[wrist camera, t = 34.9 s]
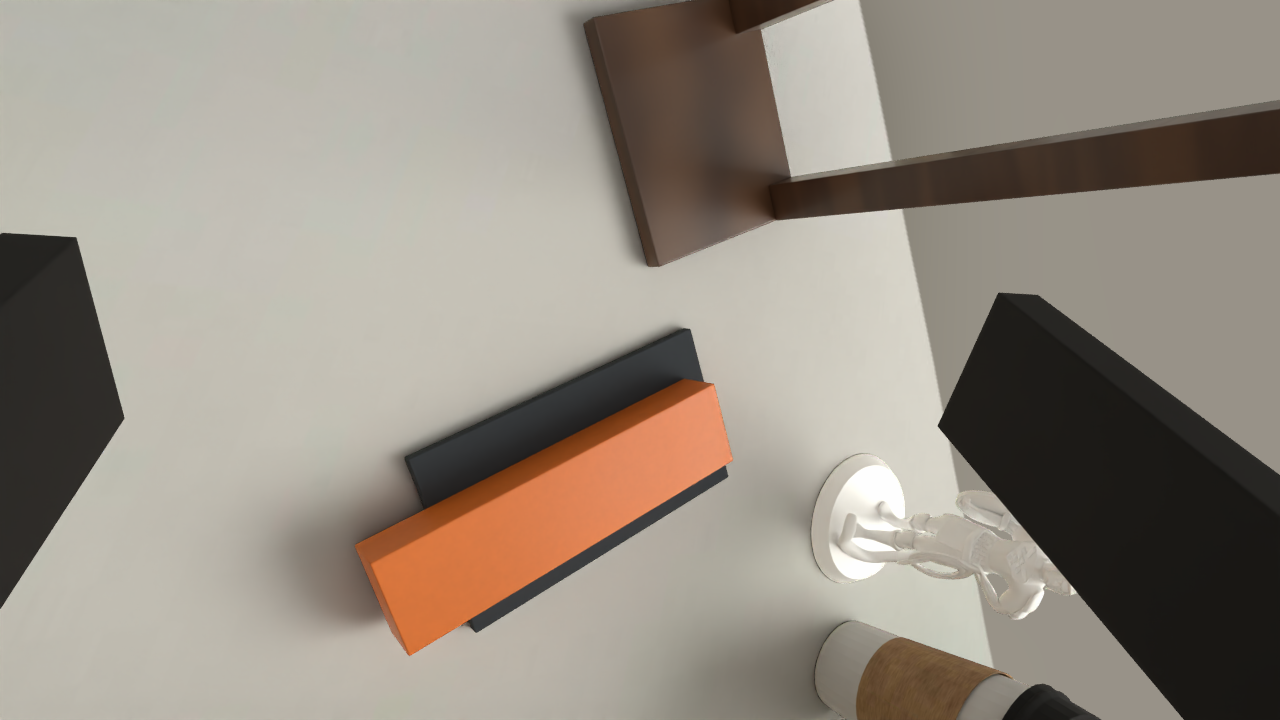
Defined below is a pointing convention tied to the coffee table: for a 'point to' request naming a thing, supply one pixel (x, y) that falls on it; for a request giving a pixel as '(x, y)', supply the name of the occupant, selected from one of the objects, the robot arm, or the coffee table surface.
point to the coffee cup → (924, 683)
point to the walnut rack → (764, 190)
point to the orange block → (541, 512)
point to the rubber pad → (547, 424)
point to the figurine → (925, 537)
